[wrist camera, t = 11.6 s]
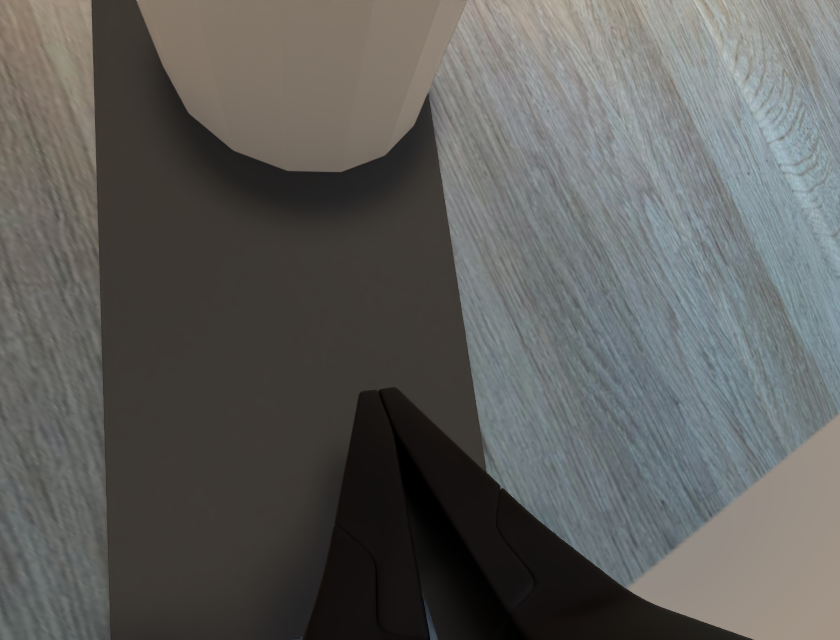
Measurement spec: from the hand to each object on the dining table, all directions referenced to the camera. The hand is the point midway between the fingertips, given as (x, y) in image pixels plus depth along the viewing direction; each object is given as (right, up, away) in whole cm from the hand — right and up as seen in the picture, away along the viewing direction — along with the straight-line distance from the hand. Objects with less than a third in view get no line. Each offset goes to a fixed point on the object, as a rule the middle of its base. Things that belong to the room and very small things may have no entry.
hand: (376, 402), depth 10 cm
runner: (-5, +5, +11) cm, 13 cm away
